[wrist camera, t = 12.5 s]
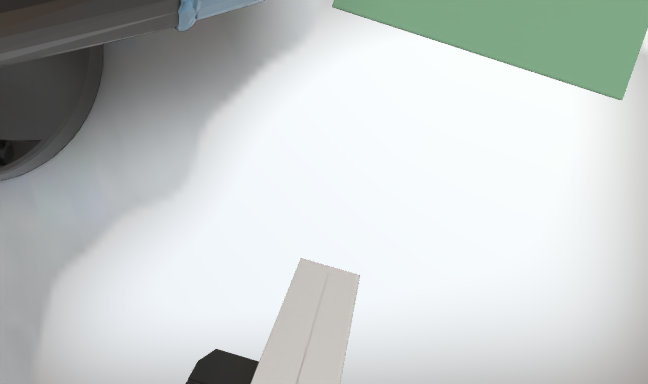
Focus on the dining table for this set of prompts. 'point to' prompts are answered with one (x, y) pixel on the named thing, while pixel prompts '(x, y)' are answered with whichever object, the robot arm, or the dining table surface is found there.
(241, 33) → the dining table surface
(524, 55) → the felt mat
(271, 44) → the dining table surface
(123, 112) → the dining table surface
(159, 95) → the dining table surface
